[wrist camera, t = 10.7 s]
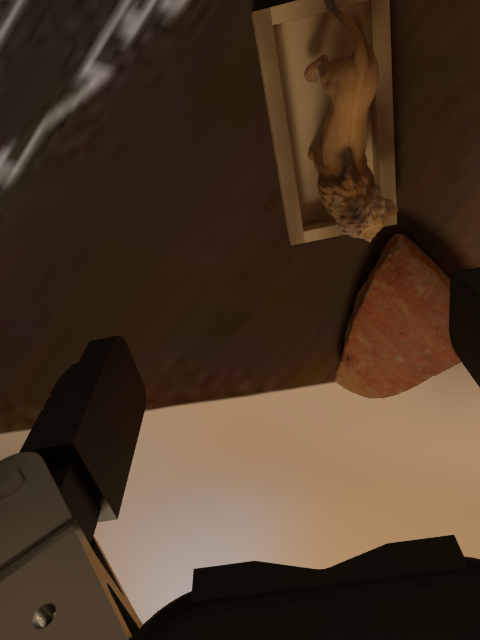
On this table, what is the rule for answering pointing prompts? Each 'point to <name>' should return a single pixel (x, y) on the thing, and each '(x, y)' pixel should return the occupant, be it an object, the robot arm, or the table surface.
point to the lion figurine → (349, 134)
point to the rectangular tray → (319, 102)
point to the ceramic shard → (398, 325)
